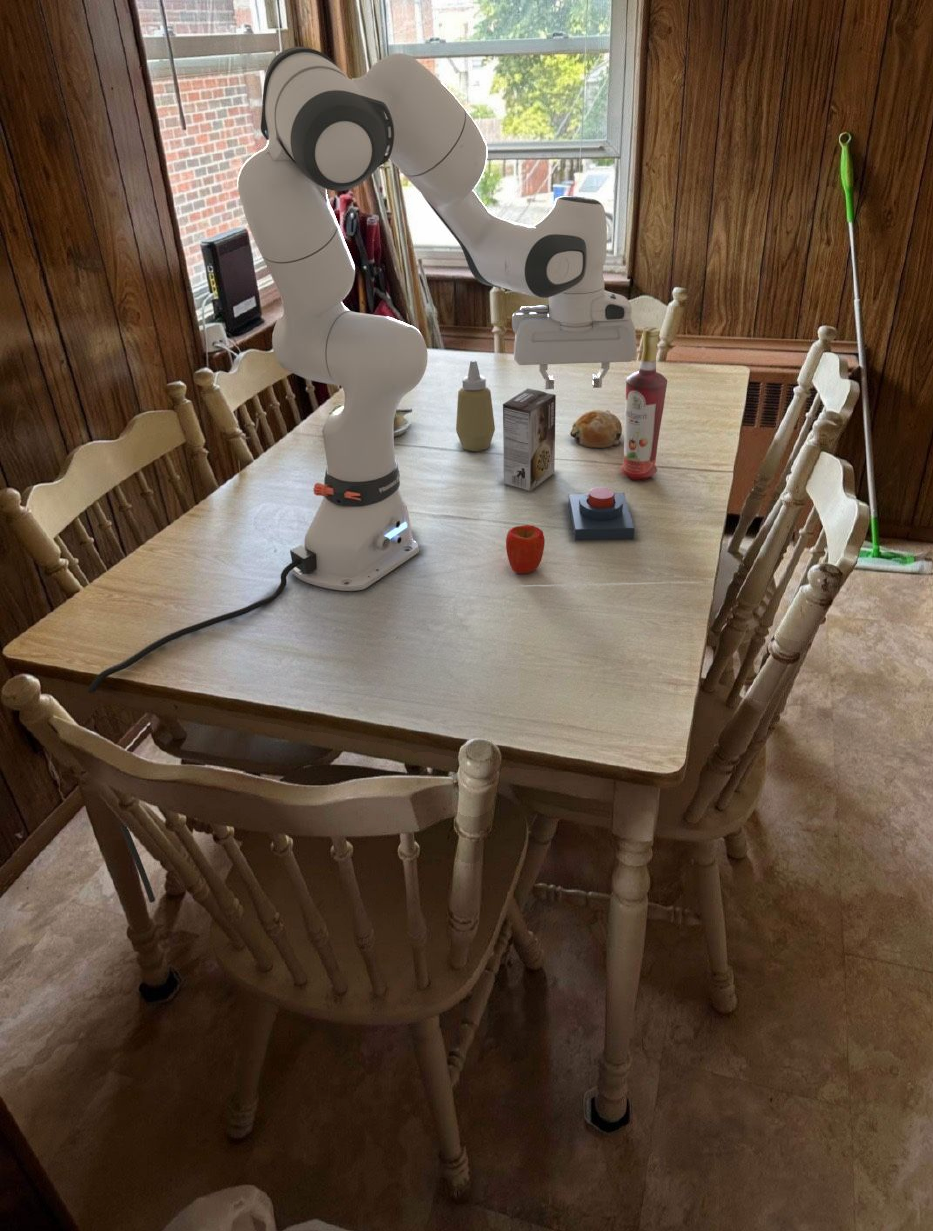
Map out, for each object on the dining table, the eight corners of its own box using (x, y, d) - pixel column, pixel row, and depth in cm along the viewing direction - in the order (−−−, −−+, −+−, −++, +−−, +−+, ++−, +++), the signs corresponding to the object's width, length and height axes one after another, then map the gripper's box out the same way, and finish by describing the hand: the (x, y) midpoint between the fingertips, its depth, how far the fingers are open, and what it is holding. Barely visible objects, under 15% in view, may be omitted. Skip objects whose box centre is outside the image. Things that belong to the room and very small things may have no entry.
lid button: (615, 509, 151) (616, 498, 150) (589, 509, 151) (590, 499, 150) (612, 497, 155) (612, 486, 154) (587, 497, 155) (587, 487, 154)
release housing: (633, 539, 150) (635, 518, 147) (574, 540, 150) (575, 520, 148) (623, 503, 160) (624, 483, 158) (568, 504, 161) (569, 485, 158)
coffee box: (527, 466, 174) (527, 387, 165) (555, 473, 171) (557, 393, 162) (502, 483, 168) (501, 403, 159) (530, 491, 165) (531, 410, 156)
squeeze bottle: (496, 438, 186) (495, 353, 176) (493, 454, 179) (492, 367, 169) (458, 437, 187) (455, 353, 176) (454, 453, 180) (450, 367, 170)
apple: (528, 584, 139) (528, 543, 135) (497, 572, 142) (497, 531, 138) (551, 568, 143) (552, 527, 139) (521, 556, 146) (521, 516, 142)
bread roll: (605, 467, 181) (623, 435, 176) (561, 442, 181) (579, 410, 176) (615, 447, 188) (633, 417, 183) (573, 423, 189) (591, 392, 184)
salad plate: (398, 405, 203) (397, 386, 200) (430, 432, 190) (429, 411, 187) (318, 422, 196) (315, 402, 193) (346, 451, 183) (343, 430, 180)
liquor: (664, 474, 169) (680, 328, 153) (644, 487, 165) (657, 338, 149) (632, 463, 174) (644, 320, 157) (611, 476, 169) (621, 330, 153)
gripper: (512, 312, 140) (512, 396, 148) (641, 308, 139) (634, 392, 147) (511, 301, 145) (511, 382, 153) (635, 297, 145) (629, 379, 153)
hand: (573, 387), depth 150 cm, fingers open, 7 cm apart
